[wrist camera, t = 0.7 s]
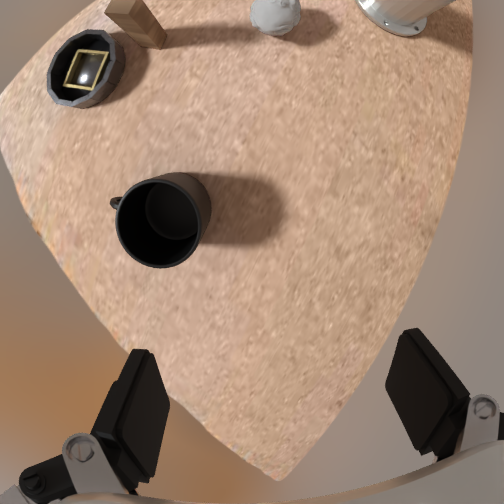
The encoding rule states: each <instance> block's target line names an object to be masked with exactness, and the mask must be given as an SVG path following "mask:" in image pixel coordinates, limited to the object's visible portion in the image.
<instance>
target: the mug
mask: <svg viewBox="0 0 504 504" xmlns="http://www.w3.org/2000/svg"><path fill="white" fill-rule="evenodd" d="M110 205H111V206H112V207H113V208H114V209H116V210H117V212H116V219H115V223H116V231H117V235H118V238H119V241H120V243H121V244H122V246H123V248H124V249H125V251H126V252H127V253H128V254H129V255H130V256H131V257H132V258H133V259H135V260H136V261H138V262H139V263H141V264H143V265H146V266H148V267H153V268H169V267H174V266H176V265H179V264H181V263H182V262H184V261H185V260H187V259H188V258H189V257H190V256H191V255H192V254H193V252H194V251H195V250H196V248H197V246H198V244H199V242H200V240H201V238H202V236H203V234H204V231H205V229H206V227H207V225H208V223H209V221H210V217H211V201H210V198H209V195H208V193H207V191H206V189H205V188H204V186H203V185H202V184H201V183H200V182H199V181H198V180H196V179H195V178H193V177H192V176H190V175H187V174H184V173H167V174H164V175H160V176H157V177H154V178H150V179H147V180H144V181H141V182H139V183H137V184H135V185H134V186H133V187H131V188H130V189H129V190H128V191H127V192H126V193H125V194H124V196H123V197H115V198H112V199H111V200H110Z"/></svg>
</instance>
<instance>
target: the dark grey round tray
mask: <svg viewBox="0 0 504 504" xmlns="http://www.w3.org/2000/svg"><path fill="white" fill-rule="evenodd" d="M124 67H125V54H124V51H123V47H122V46H121V45H120V44H119V43H118V42H117V41H116V40H115V39H114V38H113V37H112V36H110V35H109V34H108V33H107V32H105V31H104V30H88V29H87V30H85V31H83V32H81V33H79V34H77V35H75V36H73V37H71V38H69V39H68V40H67V41H66V42H65V43H64V44H63V46H62V47H61V48H60V49H59V50H58V51H57V52H56V53H55V55H54V57H53V59H52V62H51V64H50V67H49V69H48V72H47V91H48V93H49V95H50V96H51V97H52V99H53V100H54V102H55V103H56V104H59V105H65V106H70V107H76V108H81V109H84V108H87V107H91V106H94V105H96V104H98V103H99V102H101V101H102V100H104V99H105V98H106V97H107V96H108V95H109V94H110V93H111V92H112V91H113V90H114V89H115V87H116V86H117V84H118V83H119V81H120V79H121V77H122V74H123V71H124Z"/></svg>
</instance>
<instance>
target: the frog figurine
mask: <svg viewBox="0 0 504 504" xmlns="http://www.w3.org/2000/svg"><path fill="white" fill-rule="evenodd" d="M300 10H301V6H300V2H299V0H255V1H254V2H253V4H252V6H251V11H252V12H251V13H250V21H251V22H252V26H253V27H256V28H257V29H258V30H259V31H261V32H262V33H264V34H267V35H272V36H276V35H279V36H282V35H284V34H285V33H288V32H289V31H291V30H292V29H293V26H296V25H297V24H298V23H299V21H300V18H301V16H300Z"/></svg>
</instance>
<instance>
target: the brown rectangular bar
mask: <svg viewBox="0 0 504 504" xmlns="http://www.w3.org/2000/svg"><path fill="white" fill-rule="evenodd" d="M104 13H105V14H106V15H107V16H108V17H109V18H110V19H112V20H113V21H114V22H115V23H116V24H117V25H118V26H119V27H120V28H122V29H123V30H124V31H125V32H126V33H127V34H128V35H129V36H130V37H131V38H132V39H133V40H135V41H136V42H137V43H138V44H139V45H140V46H141V47H147V48H153V49H159V50H160V49H161V47H162V45H163V43H164V41H165V39H166V37H167V34H166V32H165V31H164V30H163V28H162V27H161V25H160V24H159V22H158V21H157V20H156V18H155V17H154V15H153V14H152V13H151V11H150V10H149V8H148V7H147V6H146V4H145V3H144V2H143V0H111V2H110V3H109V5H108V7H107V9H106V10H105V12H104Z"/></svg>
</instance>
